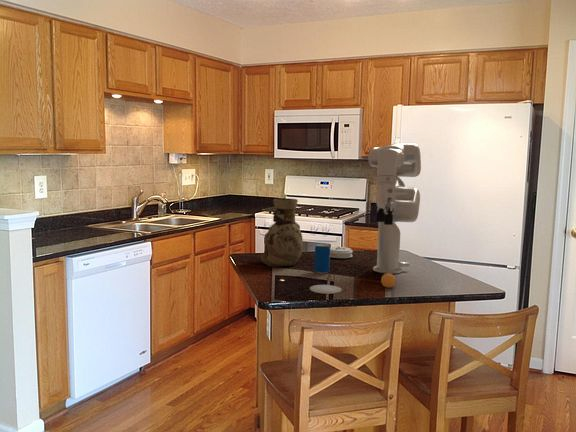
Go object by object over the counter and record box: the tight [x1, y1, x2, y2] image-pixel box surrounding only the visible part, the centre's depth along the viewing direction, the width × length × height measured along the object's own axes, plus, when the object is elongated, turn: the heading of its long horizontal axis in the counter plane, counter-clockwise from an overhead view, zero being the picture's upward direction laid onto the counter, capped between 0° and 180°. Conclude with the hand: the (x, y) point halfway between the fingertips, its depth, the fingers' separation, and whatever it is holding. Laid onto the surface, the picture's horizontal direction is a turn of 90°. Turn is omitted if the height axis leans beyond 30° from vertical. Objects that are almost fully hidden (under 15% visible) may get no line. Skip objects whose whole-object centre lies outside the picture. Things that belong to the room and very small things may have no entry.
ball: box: [380, 273, 397, 289], centre depth 198 cm, size 6×6×6 cm
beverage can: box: [313, 243, 331, 275], centre depth 220 cm, size 6×6×12 cm
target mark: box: [309, 284, 343, 295], centre depth 193 cm, size 12×12×1 cm
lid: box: [329, 246, 354, 259], centre depth 255 cm, size 13×13×5 cm
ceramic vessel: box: [260, 198, 304, 268], centre depth 233 cm, size 19×21×30 cm
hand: (384, 223), depth 205 cm, fingers open, 9 cm apart
